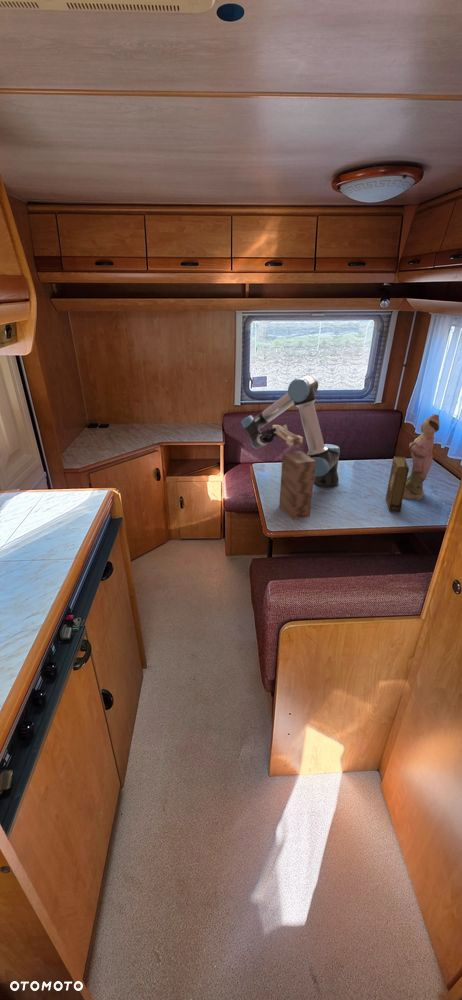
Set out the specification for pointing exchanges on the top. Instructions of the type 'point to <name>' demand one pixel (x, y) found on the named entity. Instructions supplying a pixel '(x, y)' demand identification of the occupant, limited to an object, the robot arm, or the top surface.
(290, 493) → the walnut stand
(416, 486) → the statue
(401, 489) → the book
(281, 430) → the birch bar
